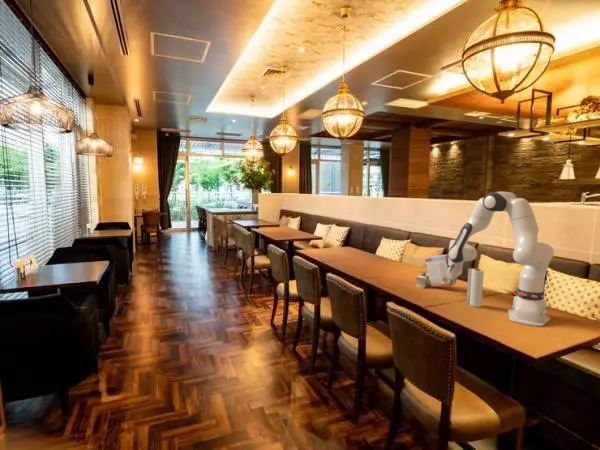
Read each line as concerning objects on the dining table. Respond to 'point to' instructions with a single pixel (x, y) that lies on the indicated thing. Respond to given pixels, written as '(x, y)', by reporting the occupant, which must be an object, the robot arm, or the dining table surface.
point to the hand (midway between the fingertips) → (454, 283)
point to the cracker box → (438, 270)
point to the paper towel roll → (475, 287)
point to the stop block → (422, 280)
